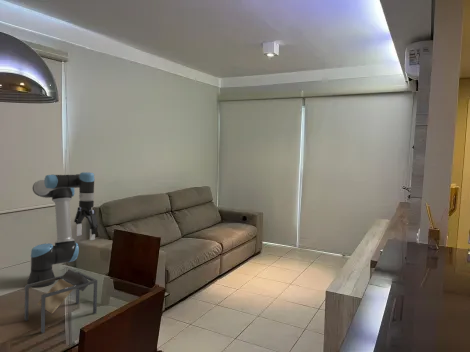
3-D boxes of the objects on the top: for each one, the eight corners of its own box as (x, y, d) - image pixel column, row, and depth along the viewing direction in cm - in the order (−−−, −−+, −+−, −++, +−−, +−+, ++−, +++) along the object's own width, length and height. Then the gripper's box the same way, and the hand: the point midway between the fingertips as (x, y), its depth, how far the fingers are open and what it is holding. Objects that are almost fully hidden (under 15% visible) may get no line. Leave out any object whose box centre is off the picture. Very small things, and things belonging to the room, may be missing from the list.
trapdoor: (75, 275, 188) (68, 269, 185) (90, 282, 180) (83, 275, 176) (45, 310, 177) (37, 304, 173) (59, 319, 168) (50, 313, 165)
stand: (77, 302, 193) (78, 271, 191) (96, 313, 182) (97, 280, 181) (24, 320, 171) (25, 285, 170) (42, 333, 160) (42, 295, 159)
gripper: (68, 197, 200) (67, 234, 202) (92, 203, 186) (91, 243, 187) (80, 196, 206) (79, 232, 208) (105, 202, 192) (104, 240, 193)
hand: (85, 237), depth 197 cm, fingers open, 13 cm apart
